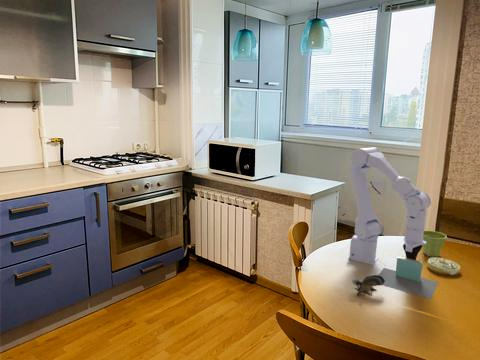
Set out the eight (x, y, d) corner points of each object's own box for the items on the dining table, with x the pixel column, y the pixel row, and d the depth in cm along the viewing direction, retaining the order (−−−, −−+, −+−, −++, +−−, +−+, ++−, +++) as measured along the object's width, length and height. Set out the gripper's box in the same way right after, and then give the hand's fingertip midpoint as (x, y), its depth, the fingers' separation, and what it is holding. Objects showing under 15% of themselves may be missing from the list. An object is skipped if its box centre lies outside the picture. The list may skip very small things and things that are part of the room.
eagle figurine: (372, 300, 111) (390, 287, 115) (361, 279, 112) (378, 266, 117) (356, 302, 117) (372, 290, 122) (345, 282, 118) (362, 270, 123)
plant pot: (420, 247, 155) (423, 228, 153) (445, 253, 150) (448, 233, 148) (416, 255, 147) (418, 235, 146) (442, 261, 142) (445, 240, 140)
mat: (372, 283, 124) (372, 282, 124) (383, 268, 135) (383, 267, 135) (431, 300, 113) (431, 299, 113) (437, 283, 124) (438, 282, 124)
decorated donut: (458, 280, 127) (459, 270, 126) (424, 272, 133) (425, 262, 132) (460, 269, 135) (462, 260, 134) (428, 262, 141) (429, 253, 140)
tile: (395, 275, 129) (397, 257, 127) (396, 273, 130) (398, 255, 128) (420, 281, 124) (422, 263, 122) (420, 279, 125) (423, 261, 123)
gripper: (423, 236, 117) (419, 275, 119) (431, 224, 128) (426, 260, 131) (400, 231, 121) (396, 269, 123) (409, 220, 132) (405, 255, 135)
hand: (410, 264), depth 127 cm, fingers closed
